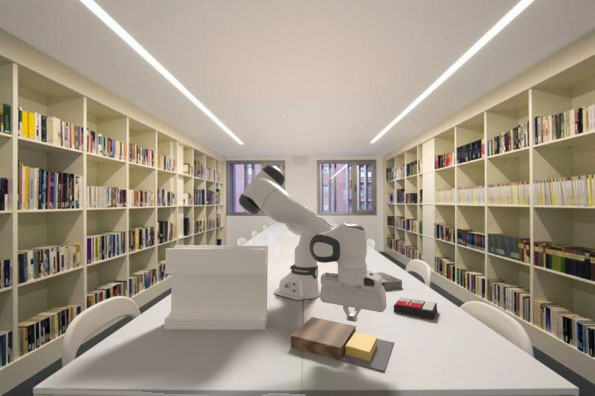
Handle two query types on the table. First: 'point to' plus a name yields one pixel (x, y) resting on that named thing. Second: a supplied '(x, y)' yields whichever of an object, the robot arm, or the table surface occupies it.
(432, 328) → the table surface
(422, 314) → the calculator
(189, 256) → the block
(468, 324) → the table surface
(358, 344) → the yellow rectangular block
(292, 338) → the panel
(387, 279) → the hard drive
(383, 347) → the mat
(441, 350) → the table surface
